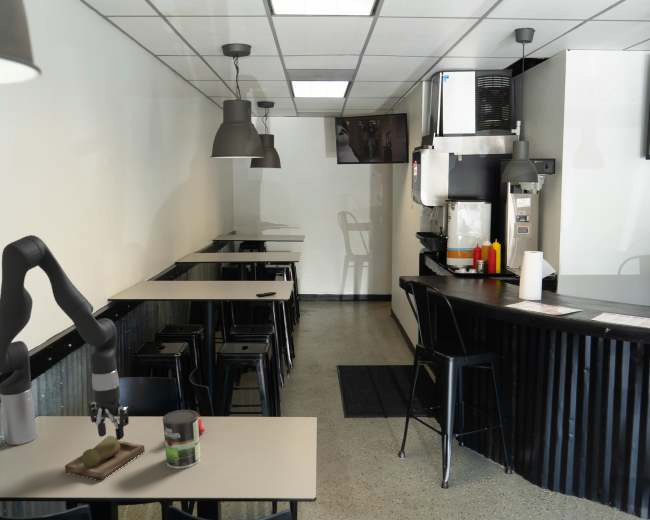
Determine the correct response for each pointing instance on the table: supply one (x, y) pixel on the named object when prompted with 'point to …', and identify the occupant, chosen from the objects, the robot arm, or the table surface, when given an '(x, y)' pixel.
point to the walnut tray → (106, 462)
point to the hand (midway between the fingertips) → (111, 437)
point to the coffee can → (181, 438)
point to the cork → (101, 451)
